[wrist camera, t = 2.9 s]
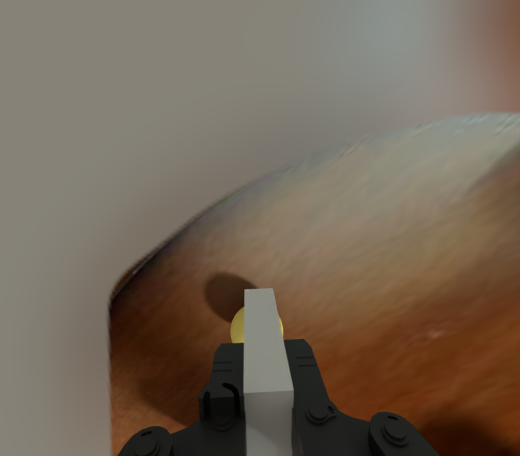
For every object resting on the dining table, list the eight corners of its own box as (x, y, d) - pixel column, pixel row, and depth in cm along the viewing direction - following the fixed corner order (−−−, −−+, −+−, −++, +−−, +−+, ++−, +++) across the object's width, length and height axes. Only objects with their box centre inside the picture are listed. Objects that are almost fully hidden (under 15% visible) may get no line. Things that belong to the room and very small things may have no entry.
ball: (279, 335, 32) (286, 370, 27) (232, 337, 32) (229, 373, 27) (279, 293, 31) (286, 321, 26) (230, 294, 31) (227, 323, 25)
